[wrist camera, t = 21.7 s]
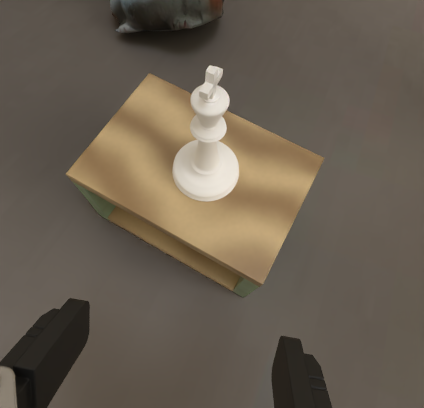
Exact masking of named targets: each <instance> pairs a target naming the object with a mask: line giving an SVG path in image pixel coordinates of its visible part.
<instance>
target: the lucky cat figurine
mask: <svg viewBox="0 0 424 408" xmlns="http://www.w3.org/2000/svg"><path fill="white" fill-rule="evenodd" d="M223 2H224V0H110V6H111V11H112V15H113V16H114V17H115V18H116V19H117V20H118V21H119V24H120V27H119V28H118V29H116V30H115V31H118V32H121V33H132V32H139V31H176V30H180V29H192V28H194V27H199V26H202V25H204V24H206V23H208V22H210V21H213V20H215V19H217V18H220V17H222V14H223Z"/></svg>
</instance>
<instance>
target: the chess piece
mask: <svg viewBox="0 0 424 408" xmlns="http://www.w3.org/2000/svg"><path fill="white" fill-rule="evenodd" d="M222 73H223V69H221V68H218V67H216V66H211V65H209V67H208V68H207V70H206V73H205V83H204V84H203V85H201V86H199V87H197V88H196V89H195V90H194V91H193V93H192V95H191V99H190V101H191V106H192V108H193V110H194V112H195V113H196V115H195V116H194V117H193V119H192V121H191V123H190V131H191V133H192V135H193V136H194V137H195V138H196V139H197V140H194V141H191V142H189V143H187V144H186V145H184V146H183V147H182V148H181V149H180V150H179V151H178V153H177V154H176V156H175V159H174V162H173V169H172V174H173V179H174V182H175V184H176V186H177V187H178V189H179V190H180V191H181V192H182V193H183V194H185V195H186V196H188V197H189V198H192V199H194V200H198V201H205V202H208V201H215V200H218V199H221V198H223V197H225V196H226V195H228V194H229V193H230V192H231V191H232V190H233V189H234V187H235V185H236V183H237V181H238V177H239V164H238V160H237V158H236V156H235V154H234V152H233V151H232V150H231V149H230V148H229V147H228V146H227V145H225V144H223V143H222V142H219V140H220V139H222V138H223V137H224V135H225V133H226V130H227V126H226V122H225V120H224V118H223V117H222V115H223V114H224V113H225V112H226V110H227V108H228V106H229V96H228V94H227V92H226V91H225V90H224V89H223V88H222V87H220V86H218V85H217V84H218V82H219V80H220V79H221V77H222Z"/></svg>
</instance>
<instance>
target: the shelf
mask: <svg viewBox="0 0 424 408" xmlns="http://www.w3.org/2000/svg"><path fill="white" fill-rule="evenodd" d="M191 95H192V94H191V93H189V92H187V91H185V90H183V89H181V88H179V87H177V86H175V85H173V84H171V83H169V82H167V81H165V80H162V79H160V78H158V77H156V76H154V75H152V74H150V73H149V74H148V75H147V77H146V78H145V79H144V80H143V81H142V83H141V84H140V85H139V86H138V87H137V89H136V90H135V91H134V92H133V93H132V95H131V96H130V97H129V98H128V99H127V101H126V102H125V103H124V104H123V105H122V107H121V108H120V109H119V110H118V111H117V113H116V114H115V115H114V116H113V117H112V119H111V120H110V121H109V122H108V124H107V125H106V126H105V127H104V128H103V130H102V131H101V132H100V133H99V134H98V136H97V137H96V138H95V139H94V140H93V142H92V143H91V144H90V145H89V146H88V148H87V149H86V150H85V151H84V152H83V154H82V155H81V156H80V157H79V158H78V160H77V161H76V162H75V163H74V164H73V166H72V167H71V168H70V169H69V170H68V172H67V173H66V175H67V176H68V177H69V178H70V180H71V181H72V182H73V183H74V184H75V185H76V187H77V188H78V189H79V190H80V191H81V193H82V194H83V195H84V196H85V198H86V199H87V200H88V201H89V202H90V204H91V205H92V206H93V207H94V209H95V210H96V211H97V212H98V213H99V215H100V216H102V217H104V218H105V219H107V220H110V221H111V222H112V223H114V224H116V225H118V226H119V227H121V228H123V229H125V230H126V231H128V232H130V233H132V234H133V235H135V236H137V237H138V238H140V239H142V240H144V241H145V242H147V243H149V244H151V245H152V246H154V247H156V248H158V249H159V250H161V251H163V252H165V253H166V254H168V255H170V256H172V257H173V258H175V259H177V260H179V261H180V262H182V263H184V264H186V265H187V266H189V267H191V268H192V269H194V270H196V271H198V272H199V273H201V274H203V275H205V276H206V277H208V278H210V279H212V280H213V281H215V282H217V283H219V284H220V285H222V286H224V287H226V288H227V289H229V290H231V291H233V292H234V293H236V294H238V295H240V296H241V297H243V298H244V297H246V296H247V295H248V294H250V293H251V292H253V291H254V290H255V289H257V288H258V287H260V286H261V285H263V283H264V281H265V279H266V277H267V275H268V273H269V271H270V269H271V267H272V265H273V263H274V261H275V259H276V257H277V255H278V253H279V250H280V248H281V246H282V244H283V242H284V240H285V238H286V236H287V234H288V232H289V230H290V228H291V226H292V224H293V222H294V220H295V218H296V216H297V213H298V211H299V209H300V207H301V205H302V203H303V201H304V199H305V197H306V195H307V193H308V191H309V189H310V187H311V185H312V183H313V181H314V179H315V176H316V174H317V172H318V170H319V168H320V166H321V164H322V162H323V160H324V158H323V157H321V156H319V155H317V154H315V153H313V152H311V151H309V150H307V149H304V148H302V147H300V146H298V145H296V144H294V143H292V142H290V141H288V140H286V139H284V138H282V137H280V136H278V135H276V134H274V133H272V132H269V131H267V130H265V129H263V128H261V127H259V126H257V125H255V124H253V123H251V122H249V121H247V120H245V119H243V118H241V117H239V116H237V115H234V114H232V113H230V112H228V111H226V112H225V113H224V114H223V115H222V117H223V118H224V120H225V122H226V126H227V130H226V133H225V135H224V137H223V138H222V139H220V140H219V142H222V143H223V144H225V145H227V146H228V147H229V148H230V149H231V150H232V151H233V152H234V154H235V156H236V158H237V160H238V164H239V177H238V181H237V183H236V185H235V187H234V189H233V190H232V191H231V192H230V193H229V194H228V195H226V196H225V197H223V198H221V199H218V200H215V201H208V202H205V201H198V200H194V199H192V198H189V197H188V196H186V195H185V194H183V193H182V192H181V191H180V190H179V189H178V187H177V186H176V184H175V182H174V179H173V174H172V169H173V162H174V159H175V156H176V154H177V153H178V151H179V150H180V149H181V148H182V147H183V146H184V145H186V144H187V143H189V142H191V141H194V140H197V139H196V138H195V137H194V136H193V135H192V133H191V131H190V123H191V121H192V119H193V117H194V116H195V115H196V113H195V112H194V110H193V108H192V106H191V101H190V99H191Z"/></svg>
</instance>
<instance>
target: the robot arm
mask: <svg viewBox="0 0 424 408" xmlns="http://www.w3.org/2000/svg"><path fill="white" fill-rule="evenodd" d="M89 310H90V305H89V302H88V301H84V300H78V299H72V298H70V299H68V300H67V302H66V303H65V304H64V305H63V306H62V308H61V309H60V310H59V309H52V310H50V311H49V312H47V313H46V314H44V315H42V316H41V317H40V318H39V319H38V320H37V321H36V323H35V324H34V325H33V327H31V328H30V329H29V330H28V332H27V333H26V335H24V336H23V337H22V338H21V339H20V340H19V342H18V343H17V344H16V345H15V346H14V347H13V348H12V349H11V351H10V352H9V353H8V354H7V355H6V356H5V357H4V358H3V359H2V361H1V362H0V408H47V406H48V405H49V403H50V401H51V400H52V398H53V397H54V395H55V393H56V392H57V390H58V388H59V387H60V385H61V384H62V382H63V380H64V379H65V377H66V376H67V374H68V372H69V371H70V369H71V367H72V366H73V364H74V363H75V361H76V359H77V358H78V356H79V355H80V353H81V351H82V350H83V348H84V346H85V344H86V342H87V339H88V335H89ZM272 389H273V398H274V408H332V405H331V402H330V398H329V395H328V391H327V388H326V384H325V381H324V377H323V374H322V370H321V367H320V365H319V364H318V362H317V361H316V359H315V358H314V357H313V355H310V354H304V353H303V348H302V344H301V341H300V339H297V338H292V337H286V336H281V337H280V339H279V343H278V347H277V351H276V354H275V358H274V362H273V367H272Z"/></svg>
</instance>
